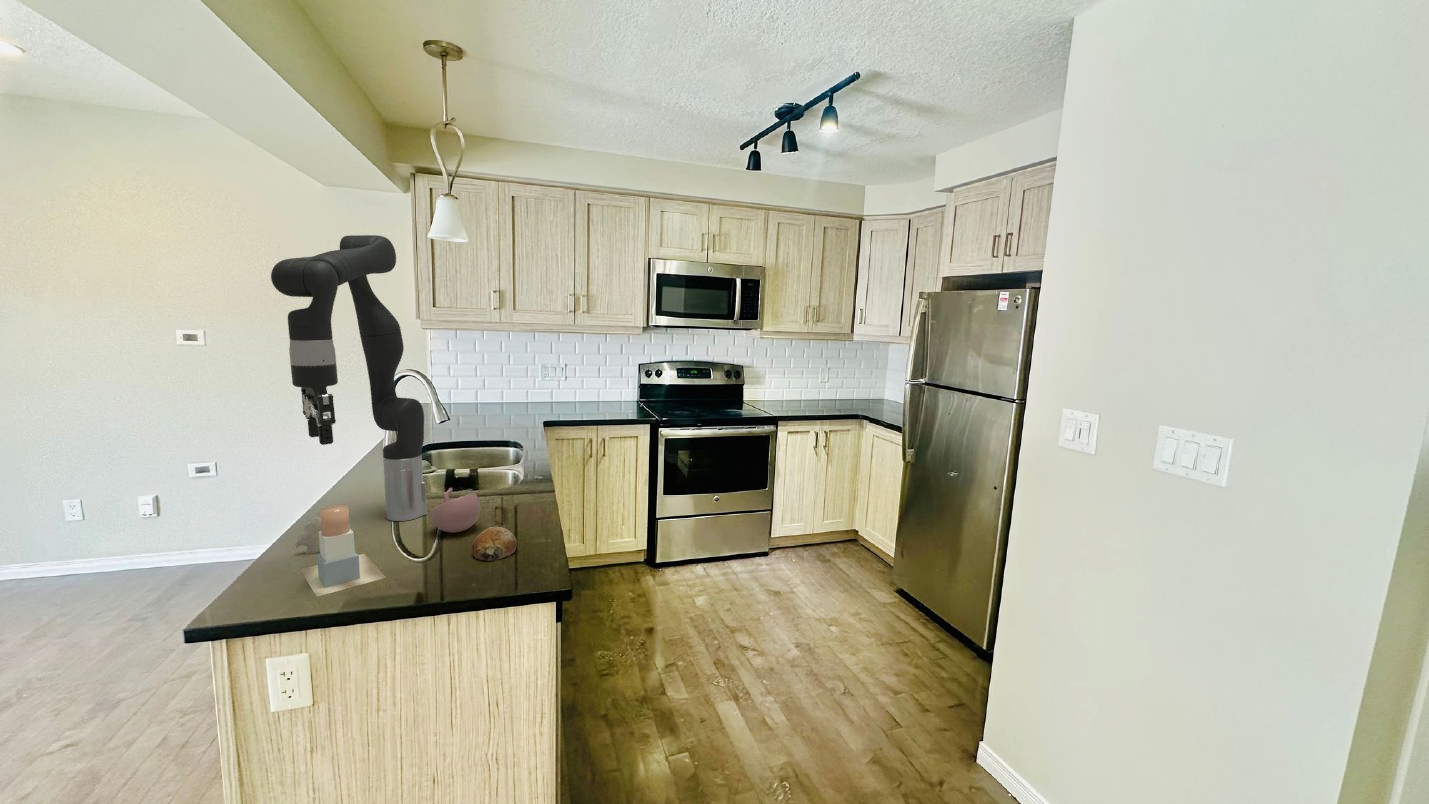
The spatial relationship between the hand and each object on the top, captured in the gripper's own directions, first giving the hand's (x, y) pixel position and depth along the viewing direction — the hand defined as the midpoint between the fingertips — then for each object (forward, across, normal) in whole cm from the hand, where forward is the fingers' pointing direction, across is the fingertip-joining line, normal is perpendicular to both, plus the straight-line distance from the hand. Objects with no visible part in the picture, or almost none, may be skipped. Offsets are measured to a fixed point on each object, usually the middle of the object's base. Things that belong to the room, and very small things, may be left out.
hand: (321, 440), depth 115 cm
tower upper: (+23, -6, 0) cm, 24 cm away
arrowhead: (+30, +12, 0) cm, 32 cm away
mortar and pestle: (+31, +7, -29) cm, 43 cm away
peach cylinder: (+18, -6, 0) cm, 19 cm away
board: (+30, -4, -1) cm, 30 cm away
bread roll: (+30, -13, -30) cm, 44 cm away
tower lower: (+28, -6, 0) cm, 29 cm away
